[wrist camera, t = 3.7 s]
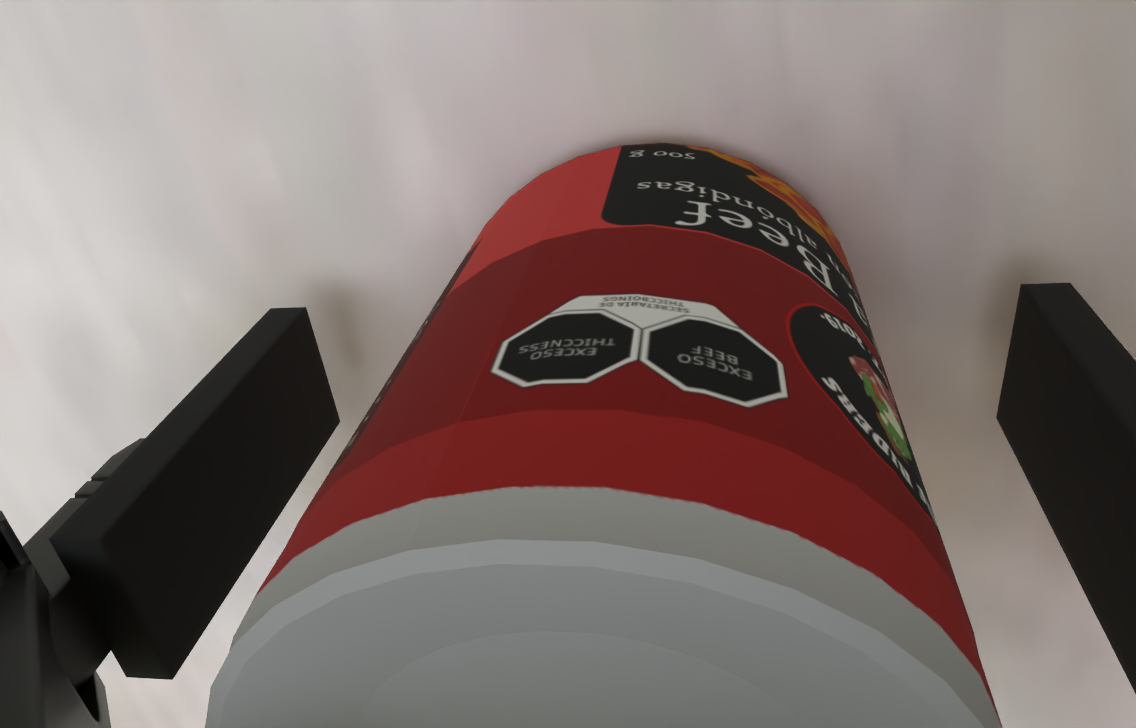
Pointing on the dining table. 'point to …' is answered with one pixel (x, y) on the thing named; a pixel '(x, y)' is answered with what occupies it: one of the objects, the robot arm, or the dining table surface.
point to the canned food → (623, 489)
